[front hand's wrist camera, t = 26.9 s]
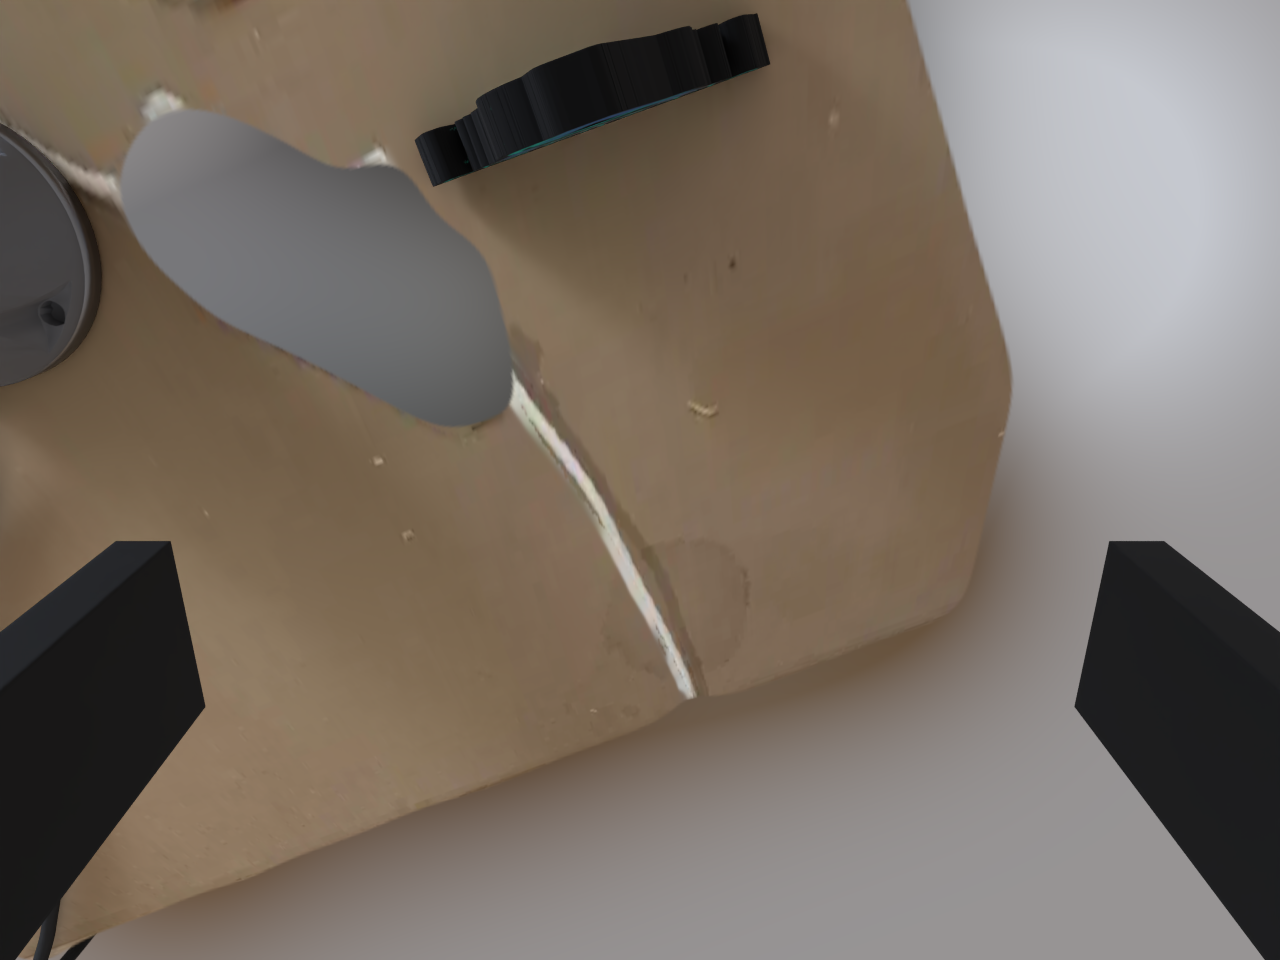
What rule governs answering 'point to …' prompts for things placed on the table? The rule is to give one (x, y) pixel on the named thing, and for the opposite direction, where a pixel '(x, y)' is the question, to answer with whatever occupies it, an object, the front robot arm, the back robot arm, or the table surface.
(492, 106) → the decorative sign
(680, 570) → the table surface
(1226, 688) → the front robot arm
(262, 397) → the table surface
